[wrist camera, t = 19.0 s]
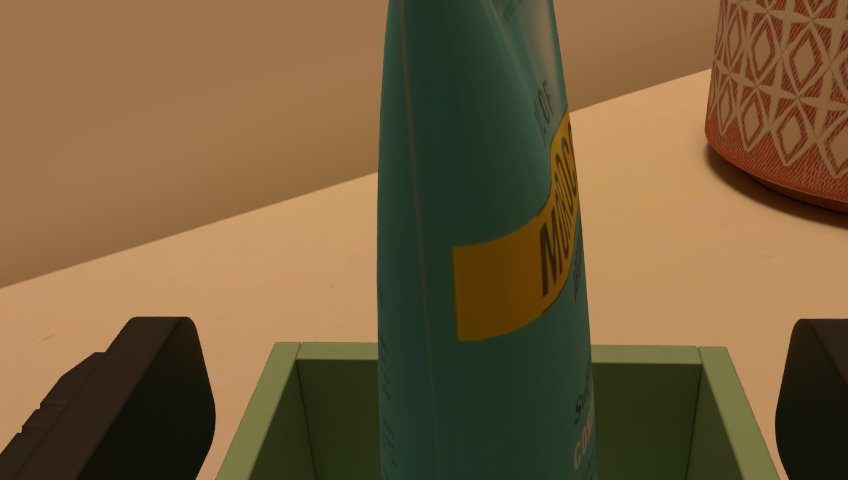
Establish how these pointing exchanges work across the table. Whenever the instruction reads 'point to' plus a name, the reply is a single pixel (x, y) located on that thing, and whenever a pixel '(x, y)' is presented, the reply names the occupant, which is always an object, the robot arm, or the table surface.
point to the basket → (613, 399)
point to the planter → (783, 96)
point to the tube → (480, 249)
